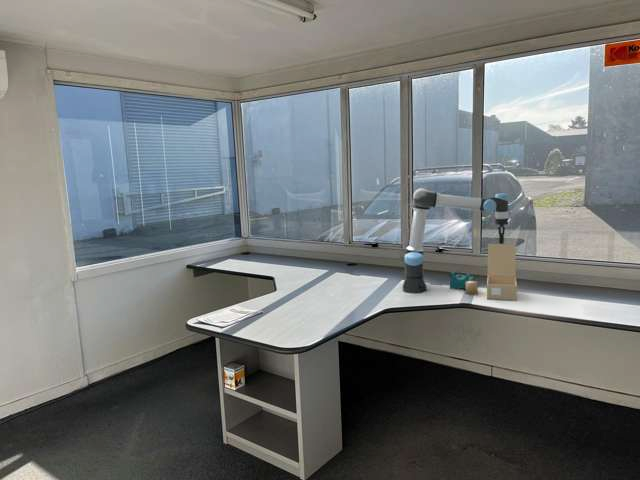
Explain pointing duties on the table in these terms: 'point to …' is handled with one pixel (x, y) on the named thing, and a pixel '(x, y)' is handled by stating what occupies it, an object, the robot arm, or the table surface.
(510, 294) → the carton
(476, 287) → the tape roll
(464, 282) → the teal irregular block
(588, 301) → the table surface
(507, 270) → the lid
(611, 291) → the table surface
